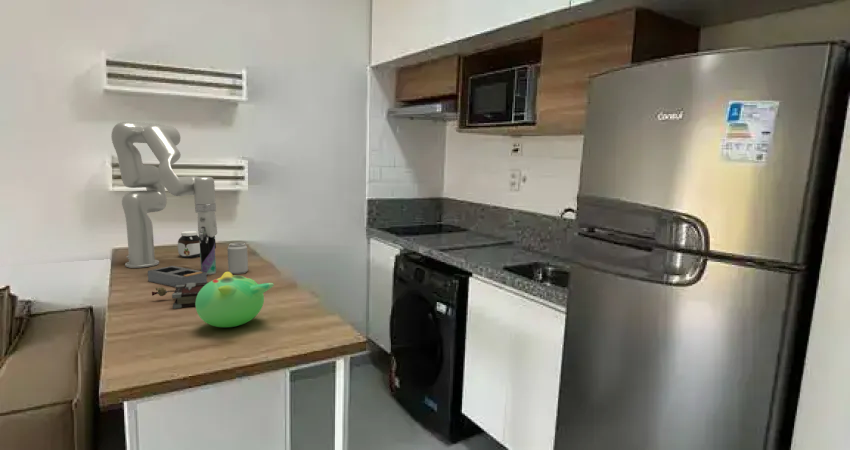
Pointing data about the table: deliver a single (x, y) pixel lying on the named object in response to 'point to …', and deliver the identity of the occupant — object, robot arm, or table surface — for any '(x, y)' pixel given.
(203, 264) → the spray can
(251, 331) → the table surface
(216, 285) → the toy bird
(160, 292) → the dark layered knobbed device
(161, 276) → the grey rectangular grid frame
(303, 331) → the table surface
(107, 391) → the table surface
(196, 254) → the spread jar
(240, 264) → the can
